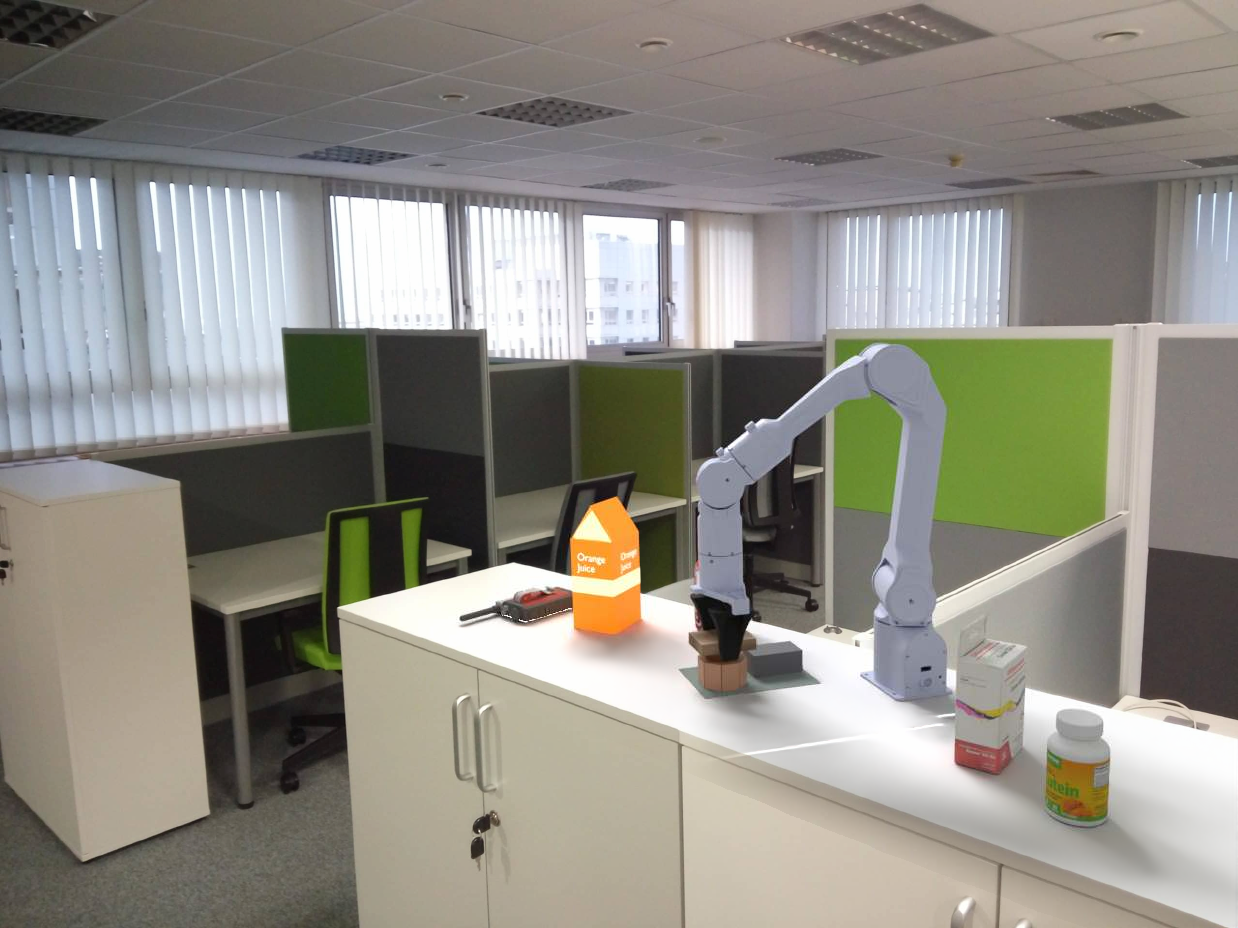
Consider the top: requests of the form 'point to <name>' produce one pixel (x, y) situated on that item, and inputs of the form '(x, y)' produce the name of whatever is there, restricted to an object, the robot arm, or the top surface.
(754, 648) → the lid
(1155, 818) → the top surface
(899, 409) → the robot arm
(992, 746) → the ink cartridge box
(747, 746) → the top surface
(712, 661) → the octagonal terracotta pot
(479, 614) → the walkie-talkie
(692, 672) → the felt mat
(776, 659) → the block
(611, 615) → the orange juice
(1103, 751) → the supplement bottle
